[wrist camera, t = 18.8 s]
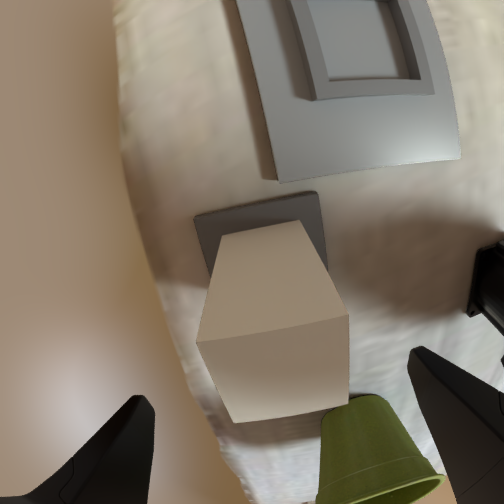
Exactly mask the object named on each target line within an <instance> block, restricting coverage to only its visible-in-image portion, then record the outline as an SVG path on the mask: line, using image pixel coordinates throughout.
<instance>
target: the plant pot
mask: <svg viewBox="0 0 504 504" xmlns="http://www.w3.org/2000/svg"><path fill="white" fill-rule="evenodd" d="M444 481H445V476H444V475H443V474H437V473H436V471H435V470H434V468H433V467H432V465H431V464H430V462H429V461H428V459H427V458H425V457H423V455H422V454H421V452H420V451H419V449H418V448H417V446H416V445H415V443H414V441H413V440H412V438H411V437H410V435H409V434H408V432H407V430H406V429H405V427H404V426H403V424H402V423H401V421H400V420H399V418H398V416H397V415H396V413H395V412H394V410H393V409H392V407H391V406H390V404H389V403H388V401H387V400H385V399H383V398H381V397H379V396H375V395H368V396H361V397H357V398H353V399H350V400H348V404H345V405H341V406H338V407H337V408H336V409H334V410H332V411H329V412H328V413H327V414H326V415H325V416H324V418H323V419H322V422H321V451H320V474H319V488H318V494H317V496H316V501H315V504H412V503H414V502H416V501H418V500H420V499H422V498H423V497H425V496H426V495H428V494H430V493H431V492H432V491H434V490H435V489H437V488H438V487H439V486H440V485H441V484H442V483H443V482H444Z"/></svg>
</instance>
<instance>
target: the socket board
mask: <svg viewBox="0 0 504 504" xmlns="http://www.w3.org/2000/svg"><path fill="white" fill-rule="evenodd" d="M235 1H236V4H237V8H238V12H239V15H240V19H241V23H242V26H243V30H244V34H245V38H246V42H247V46H248V49H249V53H250V57H251V61H252V66H253V70H254V74H255V78H256V82H257V86H258V91H259V95H260V99H261V104H262V108H263V112H264V117H265V121H266V126H267V130H268V135H269V140H270V144H271V149H272V154H273V159H274V164H275V169H276V174H277V179H278V182H279V183H280V184H281V183H286V182H292V181H297V180H303V179H308V178H314V177H320V176H326V175H332V174H338V173H344V172H351V171H358V170H365V169H372V168H379V167H387V166H395V165H403V164H412V163H421V162H431V161H441V160H453V159H461V150H460V139H459V130H458V122H457V114H456V108H455V102H454V96H453V91H452V86H451V81H450V76H449V72H448V67H447V63H446V59H445V56H444V52H443V48H442V45H441V41H440V38H439V35H438V32H437V29H436V26H435V23H434V20H433V17H432V14H431V12H430V9H429V6H428V4H427V1H426V0H235Z"/></svg>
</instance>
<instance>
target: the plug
mask: <svg viewBox="0 0 504 504" xmlns="http://www.w3.org/2000/svg"><path fill="white" fill-rule="evenodd" d="M196 344H197V346H198V348H199V351H200V353H201V355H202V358H203V360H204V362H205V364H206V367H207V369H208V371H209V373H210V375H211V377H212V380H213V382H214V384H215V386H216V388H217V390H218V392H219V394H220V396H221V398H222V400H223V403H224V405H225V407H226V409H227V411H228V413H229V415H230V417H231V418H232V420H233V422H234V423H242V422H251V421H260V420H267V419H274V418H281V417H287V416H293V415H299V414H304V413H310V412H315V411H319V410H324V409H329V408H333V407H337V406H341V405H345V404H348V399H349V314H348V312H347V310H346V308H345V306H344V304H343V302H342V300H341V298H340V296H339V294H338V292H337V290H336V288H335V286H334V284H333V282H332V280H331V278H330V276H329V274H328V272H327V270H326V268H325V266H324V264H323V262H322V261H321V259H320V257H319V255H318V253H317V251H316V249H315V247H314V245H313V244H312V242H311V240H310V238H309V236H308V234H307V233H306V231H305V229H304V227H303V225H302V223H301V222H300V220H296V221H291V222H286V223H281V224H276V225H271V226H266V227H261V228H256V229H251V230H246V231H241V232H237V233H232V234H227V235H222V238H221V242H220V245H219V249H218V253H217V257H216V261H215V265H214V269H213V273H212V277H211V281H210V285H209V289H208V293H207V297H206V301H205V305H204V309H203V314H202V318H201V322H200V326H199V331H198V335H197V339H196Z"/></svg>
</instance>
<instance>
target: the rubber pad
mask: <svg viewBox="0 0 504 504" xmlns="http://www.w3.org/2000/svg"><path fill="white" fill-rule="evenodd" d="M193 220H194V223H195V227H196V230H197V234H198V237H199V240H200V244H201V247H202V251H203V254H204V257H205V261H206V264H207V267H208V270H209V274H210V277H212V273H213V269H214V265H215V261H216V257H217V253H218V249H219V245H220V242H221V238H222V235H227V234H232V233H237V232H241V231H246V230H251V229H256V228H261V227H266V226H271V225H276V224H281V223H286V222H291V221H296V220H300V222H301V223H302V225H303V227H304V229H305V231H306V233H307V234H308V236H309V238H310V240H311V242H312V244H313V245H314V247H315V249H316V251H317V253H318V255H319V257H320V259H321V261H322V262H323V264H324V266H325V268H326V270H327V272H328V266H327V257H326V248H325V240H324V232H323V224H322V217H321V210H320V203H319V196H318V193H317V192H310V193H305V194H299V195H294V196H289V197H284V198H278V199H273V200H268V201H263V202H259V203H254V204H249V205H244V206H239V207H235V208H230V209H226V210H221V211H217V212H212V213H208V214H203V215H199V216H195V218H194V219H193Z"/></svg>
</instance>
